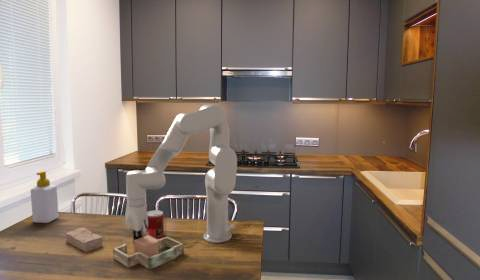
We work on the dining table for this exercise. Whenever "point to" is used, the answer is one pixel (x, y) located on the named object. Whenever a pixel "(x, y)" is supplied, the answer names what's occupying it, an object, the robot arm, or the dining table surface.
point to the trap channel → (165, 244)
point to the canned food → (155, 224)
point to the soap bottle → (44, 200)
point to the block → (146, 246)
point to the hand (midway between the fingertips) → (138, 244)
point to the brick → (84, 239)
